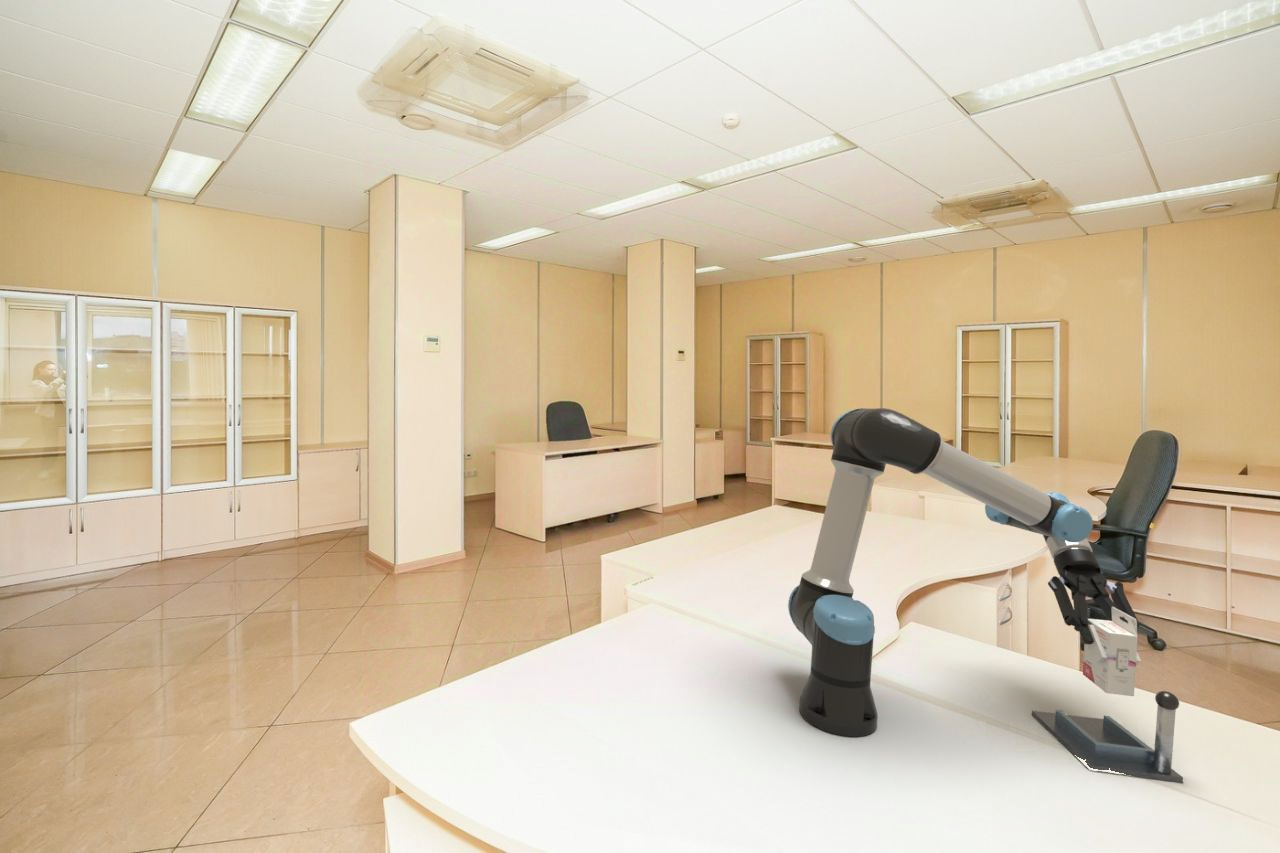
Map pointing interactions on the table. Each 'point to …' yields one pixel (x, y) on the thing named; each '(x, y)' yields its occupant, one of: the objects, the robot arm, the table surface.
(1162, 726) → the keeper bracket
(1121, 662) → the ink cartridge box
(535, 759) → the table surface
